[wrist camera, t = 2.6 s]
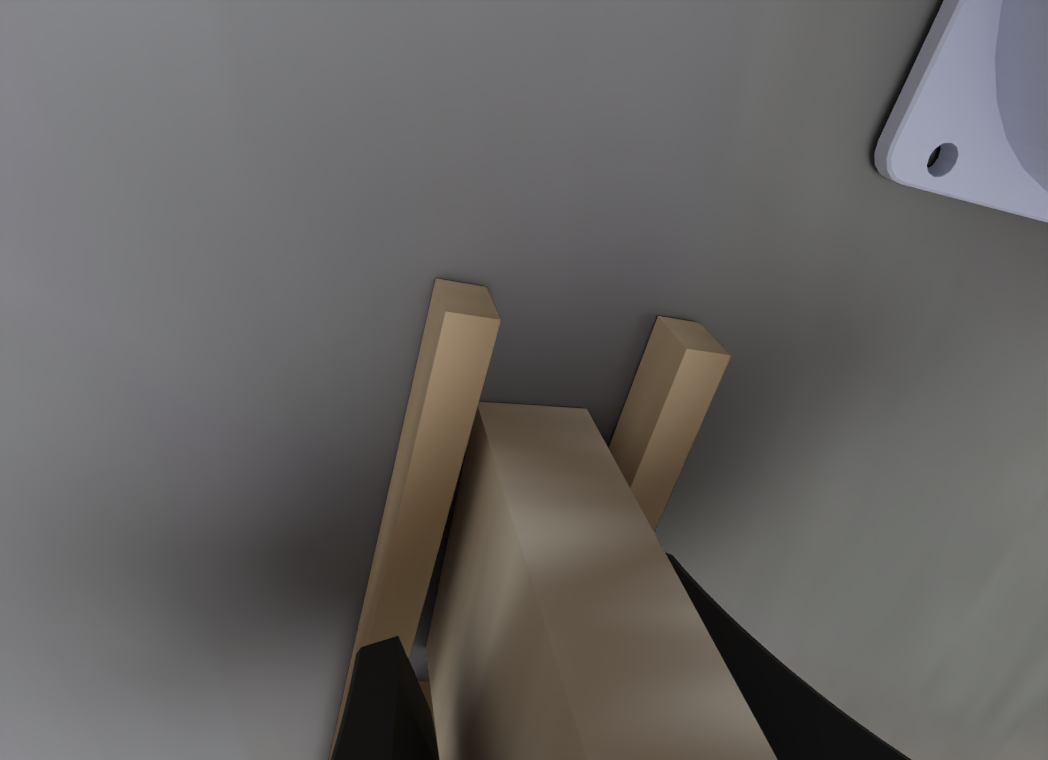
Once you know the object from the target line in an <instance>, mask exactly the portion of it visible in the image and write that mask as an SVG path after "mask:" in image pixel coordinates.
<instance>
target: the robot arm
mask: <svg viewBox="0 0 1048 760" xmlns="http://www.w3.org/2000/svg"><path fill="white" fill-rule="evenodd" d="M938 146H940V147H941V150H940V154H939V157H938V159H937V160H936V161H935V163H934V164H933V165H932V166H931V167H929V168H927V163H928V160H929V156H930V155H931V154H932V152H933V151H934V150H935V148H937V147H938ZM874 156H875V166H876V168H877V170H878V172H879V173H880V174H881V175H882V176H884V177H886V178H888V179H890V180H892V181H894V182H897V183H899V184H902V185H906V186H910V187H914V188H918V189H921V190H925V191H929V192H933V193H937V194H940V195H944V196H948V197H952V198H956V199H960V200H963V201H967V202H971V203H975V204H979V205H982V206H986V207H990V208H994V209H998V210H1002V211H1005V212H1009V213H1013V214H1017V215H1021V216H1024V217H1028V218H1032V219H1036V220H1040V221H1043V222H1047V223H1048V0H944V1H943V3H942V5H941V8H940V10H939V12H938V14H937V16H936V18H935V20H934V22H933V25H932V27H931V29H930V31H929V33H928V35H927V37H926V40H925V42H924V44H923V46H922V48H921V50H920V52H919V55H918V57H917V59H916V61H915V63H914V65H913V67H912V70H911V72H910V74H909V76H908V78H907V80H906V82H905V84H904V87H903V89H902V91H901V93H900V95H899V97H898V99H897V102H896V104H895V106H894V108H893V110H892V112H891V114H890V117H889V119H888V121H887V123H886V125H885V127H884V129H883V132H882V134H881V136H880V138H879V140H878V143H877V146H876V150H875V153H874ZM665 554H666V555H667V557H668V559H669V561H670V563H671V565H672V566H673V568H674V570H675V572H676V574H677V576H678V577H679V579H680V581H681V583H682V585H683V587H684V589H685V590H686V592H687V594H688V596H689V598H690V600H691V601H692V603H693V605H694V607H695V609H696V611H697V612H698V614H699V616H700V618H701V620H702V622H703V623H704V625H705V627H706V629H707V631H708V633H709V635H710V636H711V638H712V640H713V642H714V644H715V646H716V647H717V649H718V651H719V653H720V655H721V657H722V658H723V660H724V662H725V664H726V666H727V668H728V669H729V671H730V673H731V675H732V677H733V679H734V681H735V682H736V684H737V686H738V688H739V690H740V692H741V693H742V695H743V697H744V699H745V701H746V703H747V704H748V706H749V708H750V710H751V712H752V714H753V716H754V717H755V719H756V721H757V723H758V725H759V727H760V728H761V730H762V732H763V734H764V736H765V738H766V739H767V741H768V743H769V745H770V747H771V749H772V750H773V752H774V754H775V756H776V758H777V760H911V759H910V758H908V757H907V756H905V755H904V754H902V753H901V752H899V751H898V750H896V749H895V748H893V747H892V746H890V745H889V744H887V743H886V742H884V741H883V740H882V739H880V738H879V737H877V736H876V735H875V734H873V733H872V732H870V731H869V730H868V729H866V728H865V727H863V726H862V725H861V724H859V723H858V722H856V721H855V720H854V719H852V718H851V717H849V716H848V715H847V714H845V713H844V712H843V711H841V710H840V709H839V708H838V707H836V706H835V705H834V704H832V703H831V702H830V701H828V700H827V699H826V698H825V697H823V696H822V695H821V694H819V693H818V692H817V691H816V690H814V689H813V688H812V687H811V686H809V685H808V684H807V683H806V682H805V681H803V680H802V679H801V678H800V677H798V676H797V675H796V674H795V673H793V672H792V671H791V670H790V669H789V668H788V667H786V666H785V665H784V664H783V663H782V662H780V661H779V660H778V659H777V658H776V657H775V656H773V655H772V654H771V653H770V652H769V651H768V650H767V649H766V648H765V647H763V646H762V645H761V644H760V643H759V642H758V641H757V640H756V639H755V638H753V637H752V636H751V635H750V634H749V633H748V632H747V631H746V630H745V629H743V628H742V627H741V626H740V625H739V624H738V623H737V622H736V621H735V620H734V619H733V618H732V617H731V616H730V615H729V614H727V613H726V612H725V611H724V610H723V609H722V608H721V607H720V606H719V605H718V604H717V603H716V602H715V601H714V600H713V599H712V598H711V597H710V596H709V595H708V594H707V593H706V592H705V591H704V589H703V588H702V587H701V586H700V585H699V584H698V583H697V582H696V581H695V580H694V579H693V578H692V577H691V576H690V575H689V573H688V572H687V571H686V570H685V569H684V568H683V567H682V566H681V565H680V563H679V562H678V561H677V560H676V559H675V558H674V556H672V555H670V554H668V553H665ZM331 760H440V759H439V753H438V747H437V741H436V736H435V730H434V724H433V719H432V713H431V710H430V708H429V705H428V703H427V701H426V698H425V696H424V694H423V691H422V689H421V687H420V685H419V682H418V680H417V678H416V675H415V673H414V671H413V668H412V666H411V664H410V662H409V659H408V657H407V655H406V652H405V650H404V648H403V645H402V643H401V641H400V639H399V636H395V637H392V638H389V639H386V640H382V641H379V642H376V643H373V644H369V645H366V646H363V647H361V648H360V649H359V650H358V652H357V653H356V657H355V662H354V668H353V673H352V678H351V682H350V687H349V692H348V696H347V700H346V704H345V709H344V713H343V716H342V720H341V724H340V728H339V732H338V736H337V739H336V743H335V746H334V750H333V753H332V756H331Z"/></svg>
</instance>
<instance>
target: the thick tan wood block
mask: <svg viewBox="0 0 1048 760" xmlns="http://www.w3.org/2000/svg"><path fill="white" fill-rule="evenodd" d="M426 657H427V665H428V673H429V681H430V689H431V697H432V704H433V712H434V720H435V728H436V736H437V744H438V752H439V759H440V760H777V758H776V756H775V754H774V752H773V750H772V749H771V747H770V745H769V743H768V741H767V739H766V738H765V736H764V734H763V732H762V730H761V728H760V727H759V725H758V723H757V721H756V719H755V717H754V716H753V714H752V712H751V710H750V708H749V706H748V704H747V703H746V701H745V699H744V697H743V695H742V693H741V692H740V690H739V688H738V686H737V684H736V682H735V681H734V679H733V677H732V675H731V673H730V671H729V669H728V668H727V666H726V664H725V662H724V660H723V658H722V657H721V655H720V653H719V651H718V649H717V647H716V646H715V644H714V642H713V640H712V638H711V636H710V635H709V633H708V631H707V629H706V627H705V625H704V623H703V622H702V620H701V618H700V616H699V614H698V612H697V611H696V609H695V607H694V605H693V603H692V601H691V600H690V598H689V596H688V594H687V592H686V590H685V589H684V587H683V585H682V583H681V581H680V579H679V577H678V576H677V574H676V572H675V570H674V568H673V566H672V565H671V563H670V561H669V559H668V557H667V555H666V554H665V552H664V550H663V548H662V546H661V544H660V543H659V541H658V539H657V537H656V535H655V533H654V531H653V530H652V528H651V526H650V524H649V522H648V520H647V519H646V517H645V515H644V513H643V511H642V509H641V508H640V506H639V504H638V502H637V500H636V498H635V496H634V495H633V493H632V491H631V489H630V487H629V485H628V484H627V482H626V480H625V478H624V476H623V474H622V473H621V471H620V469H619V467H618V465H617V463H616V462H615V460H614V458H613V456H612V454H611V452H610V450H609V449H608V447H607V445H606V443H605V441H604V439H603V438H602V436H601V434H600V432H599V430H598V428H597V427H596V425H595V423H594V421H593V419H592V417H591V416H590V414H589V412H588V410H587V409H582V408H567V407H552V406H537V405H522V404H507V403H492V402H479V403H478V406H477V410H476V414H475V417H474V421H473V425H472V428H471V432H470V436H469V440H468V445H467V450H466V455H465V460H464V465H463V470H462V475H461V479H460V484H459V489H458V494H457V499H456V504H455V509H454V514H453V518H452V523H451V528H450V533H449V538H448V543H447V548H446V553H445V557H444V562H443V567H442V572H441V577H440V582H439V587H438V592H437V597H436V601H435V606H434V611H433V616H432V621H431V626H430V631H429V636H428V640H427V645H426Z"/></svg>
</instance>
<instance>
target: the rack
mask: <svg viewBox="0 0 1048 760" xmlns="http://www.w3.org/2000/svg"><path fill="white" fill-rule="evenodd" d="M500 322H501V319H500V317H499V314H498V312H497V310H496V308H495V305H494V303H493V301H492V299H491V296H490V294H489V292H488V290H487V287H484V286H478V285H472V284H466V283H460V282H454V281H448V280H442V279H437V278H436V279H435V284H434V288H433V293H432V297H431V302H430V306H429V311H428V315H427V320H426V324H425V329H424V333H423V338H422V342H421V347H420V351H419V356H418V360H417V365H416V369H415V374H414V378H413V383H412V387H411V392H410V396H409V401H408V405H407V410H406V414H405V419H404V423H403V428H402V432H401V437H400V441H399V446H398V450H397V455H396V459H395V464H394V468H393V473H392V477H391V482H390V486H389V491H388V495H387V500H386V504H385V509H384V513H383V518H382V522H381V527H380V531H379V536H378V540H377V545H376V549H375V554H374V558H373V563H372V567H371V572H370V576H369V581H368V585H367V590H366V594H365V599H364V603H363V608H362V612H361V617H360V621H359V626H358V630H357V635H356V639H355V644H354V648H353V653H352V657H351V662H350V666H349V671H348V675H347V680H346V684H345V689H344V693H343V698H342V703H341V707H340V712H339V716H338V721H337V725H336V730H335V734H334V739H333V743H332V748H331V752H330V757H329V760H331V756H332V753H333V750H334V746H335V743H336V739H337V736H338V732H339V728H340V724H341V720H342V716H343V713H344V709H345V704H346V700H347V696H348V692H349V687H350V682H351V678H352V673H353V668H354V662H355V657H356V653H357V652H358V650H359V649H360V648H361V647H363V646H366V645H369V644H373V643H376V642H379V641H382V640H386V639H389V638H392V637H395V636H399V639H400V641H401V643H402V645H403V648H404V650H405V652H406V655H407V657H408V659H409V657H410V653H411V649H412V646H413V642H414V638H415V634H416V631H417V627H418V623H419V620H420V616H421V612H422V609H423V605H424V601H425V598H426V594H427V590H428V587H429V583H430V579H431V576H432V572H433V568H434V565H435V561H436V557H437V554H438V550H439V546H440V543H441V539H442V535H443V531H444V528H445V524H446V520H447V517H448V513H449V509H450V506H451V502H452V498H453V495H454V491H455V487H456V484H457V480H458V476H459V473H460V469H461V465H462V462H463V458H464V454H465V451H466V447H467V443H468V440H469V436H470V432H471V428H472V425H473V421H474V417H475V414H476V410H477V406H478V403H479V399H480V395H481V392H482V388H483V384H484V381H485V377H486V373H487V370H488V366H489V362H490V359H491V355H492V351H493V348H494V344H495V340H496V336H497V333H498V329H499V325H500ZM730 357H731V355H730V354H729V353H728V352H727V351H726V350H725V349H724V348H723V347H722V346H721V345H720V343H719V342H718V341H717V340H716V339H715V338H714V337H713V336H712V335H711V334H710V333H709V332H708V331H707V330H706V329H705V328H704V327H703V326H702V325H701V324H700V323H698V322H692V321H686V320H680V319H674V318H668V317H662V316H658V317H657V320H656V323H655V325H654V328H653V331H652V333H651V336H650V339H649V341H648V344H647V346H646V349H645V352H644V354H643V357H642V360H641V362H640V365H639V368H638V370H637V373H636V376H635V378H634V381H633V384H632V386H631V389H630V392H629V394H628V397H627V400H626V402H625V405H624V408H623V410H622V413H621V416H620V418H619V421H618V424H617V426H616V429H615V432H614V434H613V437H612V440H611V442H610V445H609V448H608V449H609V450H610V452H611V454H612V456H613V458H614V460H615V462H616V463H617V465H618V467H619V469H620V471H621V473H622V474H623V476H624V478H625V480H626V482H627V484H628V485H629V487H630V489H631V491H632V493H633V495H634V496H635V498H636V500H637V502H638V504H639V506H640V508H641V509H642V511H643V513H644V515H645V517H646V519H647V520H648V522H649V524H650V526H651V528H652V530H653V531H654V532H655V529H656V527H657V525H658V523H659V520H660V518H661V516H662V513H663V511H664V509H665V506H666V504H667V502H668V500H669V497H670V495H671V493H672V490H673V488H674V486H675V484H676V481H677V479H678V477H679V474H680V472H681V470H682V467H683V465H684V463H685V461H686V458H687V456H688V454H689V451H690V449H691V447H692V445H693V442H694V440H695V438H696V435H697V433H698V431H699V428H700V426H701V424H702V422H703V419H704V417H705V415H706V412H707V410H708V408H709V406H710V403H711V401H712V399H713V396H714V394H715V392H716V389H717V387H718V385H719V383H720V380H721V378H722V376H723V373H724V371H725V369H726V367H727V364H728V362H729V360H730Z"/></svg>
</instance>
